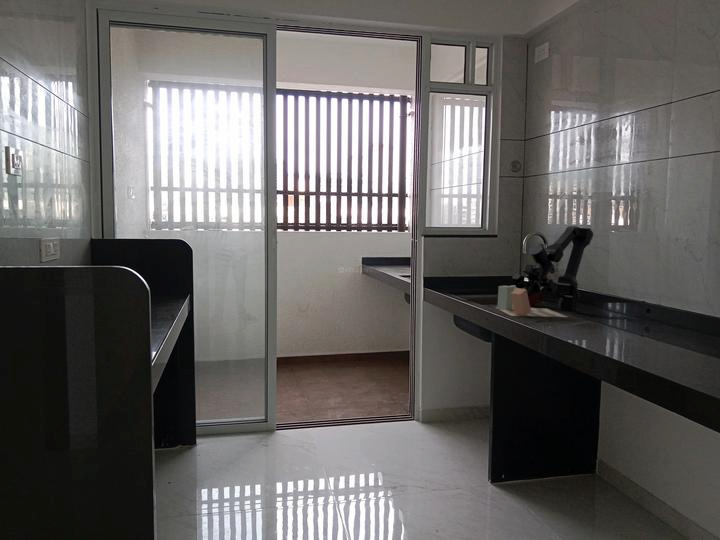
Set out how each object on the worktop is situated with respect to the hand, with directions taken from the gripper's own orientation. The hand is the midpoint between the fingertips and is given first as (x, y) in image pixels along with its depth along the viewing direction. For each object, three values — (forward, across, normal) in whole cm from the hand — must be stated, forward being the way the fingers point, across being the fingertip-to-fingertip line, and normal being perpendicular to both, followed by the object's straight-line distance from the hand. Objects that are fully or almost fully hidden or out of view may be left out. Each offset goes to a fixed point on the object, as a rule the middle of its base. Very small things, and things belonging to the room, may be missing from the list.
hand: (524, 298), depth 231 cm
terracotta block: (+4, 0, +4) cm, 6 cm away
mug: (-14, -15, +25) cm, 33 cm away
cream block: (-4, -13, +14) cm, 20 cm away
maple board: (-2, -4, +13) cm, 14 cm away
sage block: (0, -14, +9) cm, 17 cm away
